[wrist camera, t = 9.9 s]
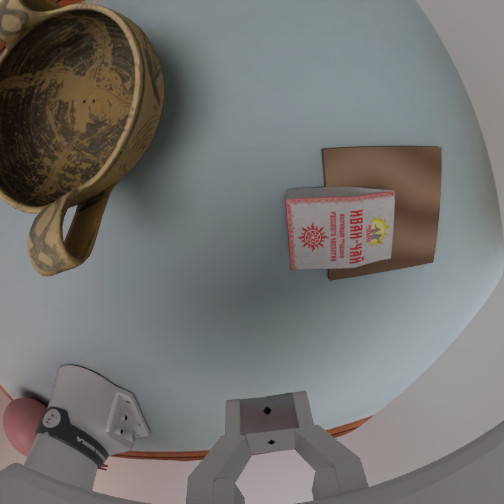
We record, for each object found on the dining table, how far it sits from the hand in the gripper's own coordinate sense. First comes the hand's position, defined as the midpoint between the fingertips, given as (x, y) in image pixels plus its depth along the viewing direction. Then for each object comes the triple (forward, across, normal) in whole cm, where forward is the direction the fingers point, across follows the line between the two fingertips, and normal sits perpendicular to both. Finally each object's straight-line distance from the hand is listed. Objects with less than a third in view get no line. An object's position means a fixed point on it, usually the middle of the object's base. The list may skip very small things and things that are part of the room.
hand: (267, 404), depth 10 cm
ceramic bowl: (+21, +13, -15) cm, 29 cm away
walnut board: (+20, -15, 0) cm, 25 cm away
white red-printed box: (+19, -4, 0) cm, 19 cm away
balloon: (+22, +54, +39) cm, 70 cm away
